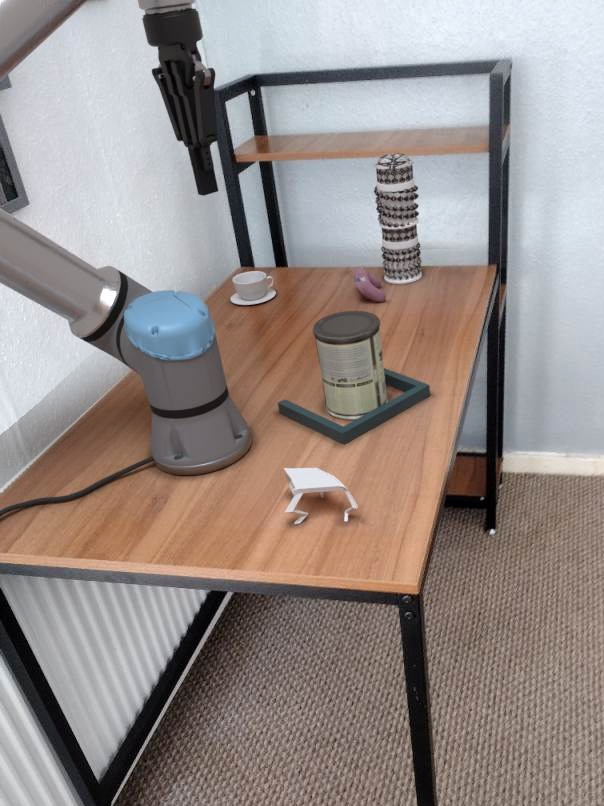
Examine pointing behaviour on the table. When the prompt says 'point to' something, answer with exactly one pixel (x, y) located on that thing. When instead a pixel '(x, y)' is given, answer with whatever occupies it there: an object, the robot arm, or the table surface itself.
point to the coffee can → (351, 363)
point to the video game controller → (369, 285)
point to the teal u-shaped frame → (345, 434)
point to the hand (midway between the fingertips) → (208, 192)
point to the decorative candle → (398, 218)
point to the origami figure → (313, 487)
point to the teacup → (252, 288)
